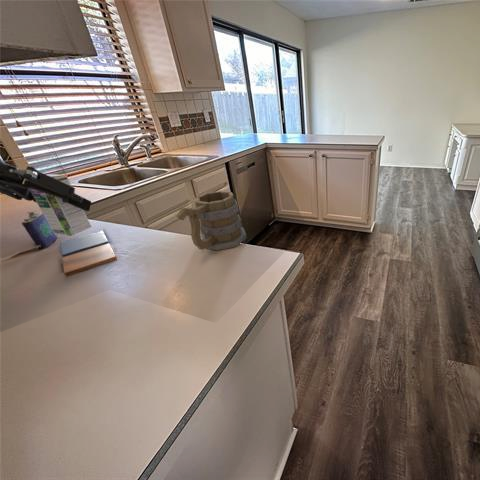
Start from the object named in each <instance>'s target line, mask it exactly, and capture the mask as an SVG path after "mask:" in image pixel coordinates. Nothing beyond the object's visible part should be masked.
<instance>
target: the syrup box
mask: <svg viewBox="0 0 480 480" xmlns="http://www.w3.org/2000/svg"><path fill="white" fill-rule="evenodd" d="M47 175H48V176H50V177H52V178H54V179H56V180H59V181H61V182H63V183H65V184H67V185H69V186H72V184H71V182H70V179H69V177H68V176H67V174H52V173H50V174H48V173H47ZM29 189H30V191H31V193H32V195H33V196H34V198H35V200H36V202H37V203H36V202H35V203H36V204H37V206H38V208H39V210H40V211H41V213H43V214H44V216H45V218H46V220H47V222H48V223H49V225H50V227H51V229H52V230H53V232H54V234H55V235H56V236H67V237H73V236H75V235H77V234H79V233H82V232H84V231H86V230H88V229H90V228H92V224H91V223H90V221H89V219H88V216H87V214H86V211H85V210H83V209H80V208H78V207H76V206H74V205H71V204H69V203H67V202H63V201H62V198H59V197H56V196H53V195H49V194H46V193H43V192H40V191H37V190H34V189H31V188H29ZM74 193H75V194H76V192H74Z"/></svg>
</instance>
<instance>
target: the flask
mask: <svg viewBox="0 0 480 480" xmlns="http://www.w3.org/2000/svg"><path fill="white" fill-rule="evenodd" d="M26 214H28V217H27V218H25V219H23V220H22V222H21V225H22V226H23V228H24V230H25V231H26V232H27V234H28V235H29V236H30V238H31V240H32V241H33V242H34V244H35V245H36V246H38V247H37V249H38V250H43V249H46V248H49V247H50V246H51V245H52V244H54V243H55V241H56V240H57V239H58V235H55V234H54V232H53V230H52V229H51V227H50V225H49V223H48V222H47V220H46V218H45V216H44V214H43V213H42V211H41V212H40V211H39V212H36V210H35V211H28V212H26Z"/></svg>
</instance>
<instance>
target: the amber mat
mask: <svg viewBox="0 0 480 480" xmlns="http://www.w3.org/2000/svg"><path fill="white" fill-rule="evenodd" d="M61 259H62V265H63V274H64V276H65V277H69V276H72V275H75V274H78V273H80V272H84V271H88V270H90V269H93V268H96V267H98V266H101V265H104V264H108V263H111V262H113V261H117V260H118V258H117V256H116V254H115V251H114V250H113V248H112V246H111V244H110V243H109V244H105V245H102V246H99V247H95V248H92V249H89V250H85V251H82V252H79V253H76V254H72V255H69V256H66V257H63V256H62V257H61Z"/></svg>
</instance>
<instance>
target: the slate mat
mask: <svg viewBox="0 0 480 480" xmlns="http://www.w3.org/2000/svg"><path fill="white" fill-rule="evenodd" d="M105 244H110V242H109V240H108V238H107V236H106V234H105V232H104V230H100V231H97V232H93V233H89V234H85V235H82V236H78V237H74V238H71V239H67V240H64V241H60V242H59V245H60V251H61V252H60V253H61V256H62V257H66V256H69V255H72V254H76V253H79V252H82V251H85V250H89V249H92V248H95V247H99V246H102V245H105Z"/></svg>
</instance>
